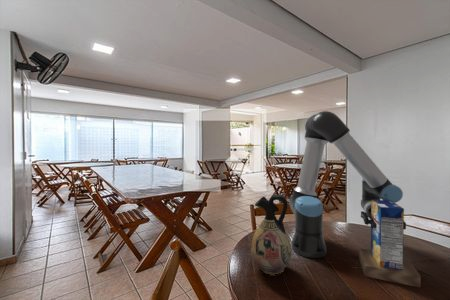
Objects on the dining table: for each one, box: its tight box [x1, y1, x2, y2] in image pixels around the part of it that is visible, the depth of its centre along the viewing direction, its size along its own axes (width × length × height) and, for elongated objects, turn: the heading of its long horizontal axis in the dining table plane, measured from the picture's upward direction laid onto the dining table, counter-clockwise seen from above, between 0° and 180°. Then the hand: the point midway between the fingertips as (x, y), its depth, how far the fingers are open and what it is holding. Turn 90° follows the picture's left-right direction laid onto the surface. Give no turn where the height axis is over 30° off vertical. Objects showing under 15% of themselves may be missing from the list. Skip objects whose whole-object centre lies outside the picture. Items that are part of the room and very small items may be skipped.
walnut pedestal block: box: [358, 247, 422, 288], centre depth 83 cm, size 16×14×4 cm
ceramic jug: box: [250, 194, 292, 275], centre depth 84 cm, size 17×15×30 cm
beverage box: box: [370, 199, 405, 270], centre depth 82 cm, size 7×11×22 cm, turn 161°
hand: (390, 230), depth 77 cm, fingers open, 6 cm apart
